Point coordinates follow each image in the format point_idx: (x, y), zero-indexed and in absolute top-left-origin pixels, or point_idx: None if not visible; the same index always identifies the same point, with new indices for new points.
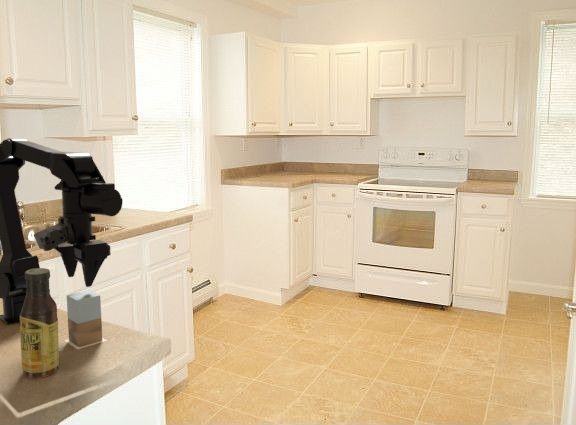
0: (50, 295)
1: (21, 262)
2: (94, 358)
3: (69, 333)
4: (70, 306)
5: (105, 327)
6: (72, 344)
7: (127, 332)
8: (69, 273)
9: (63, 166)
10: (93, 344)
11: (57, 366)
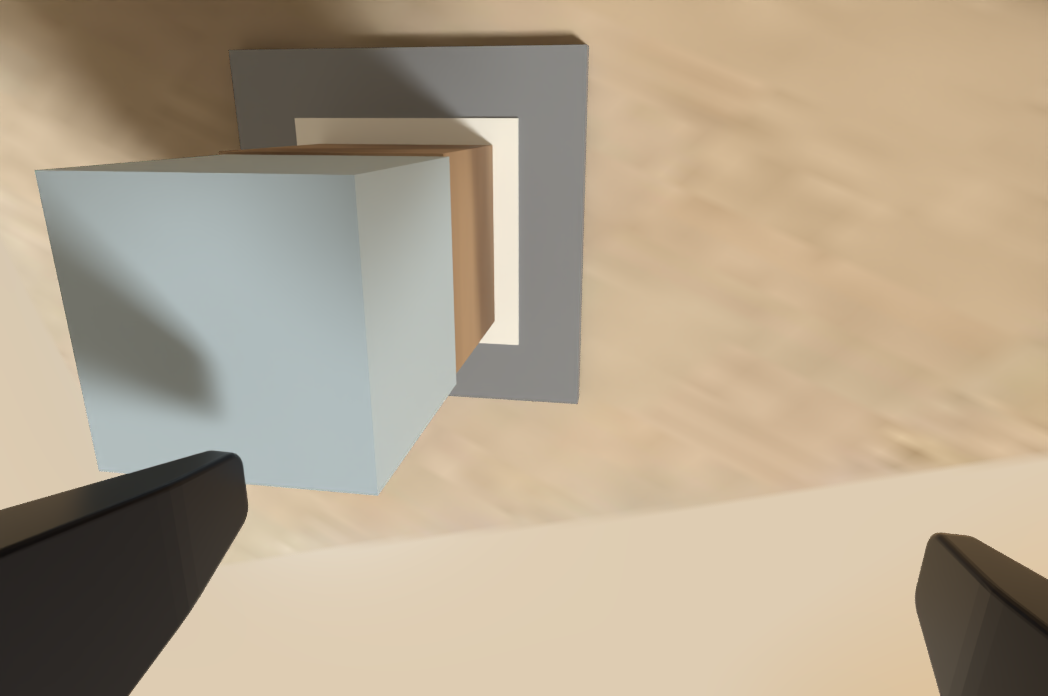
0: None
1: None
2: (147, 154)
3: (461, 147)
4: (303, 163)
5: (592, 460)
6: (399, 129)
7: (405, 501)
8: (958, 583)
9: None
10: None
11: None
